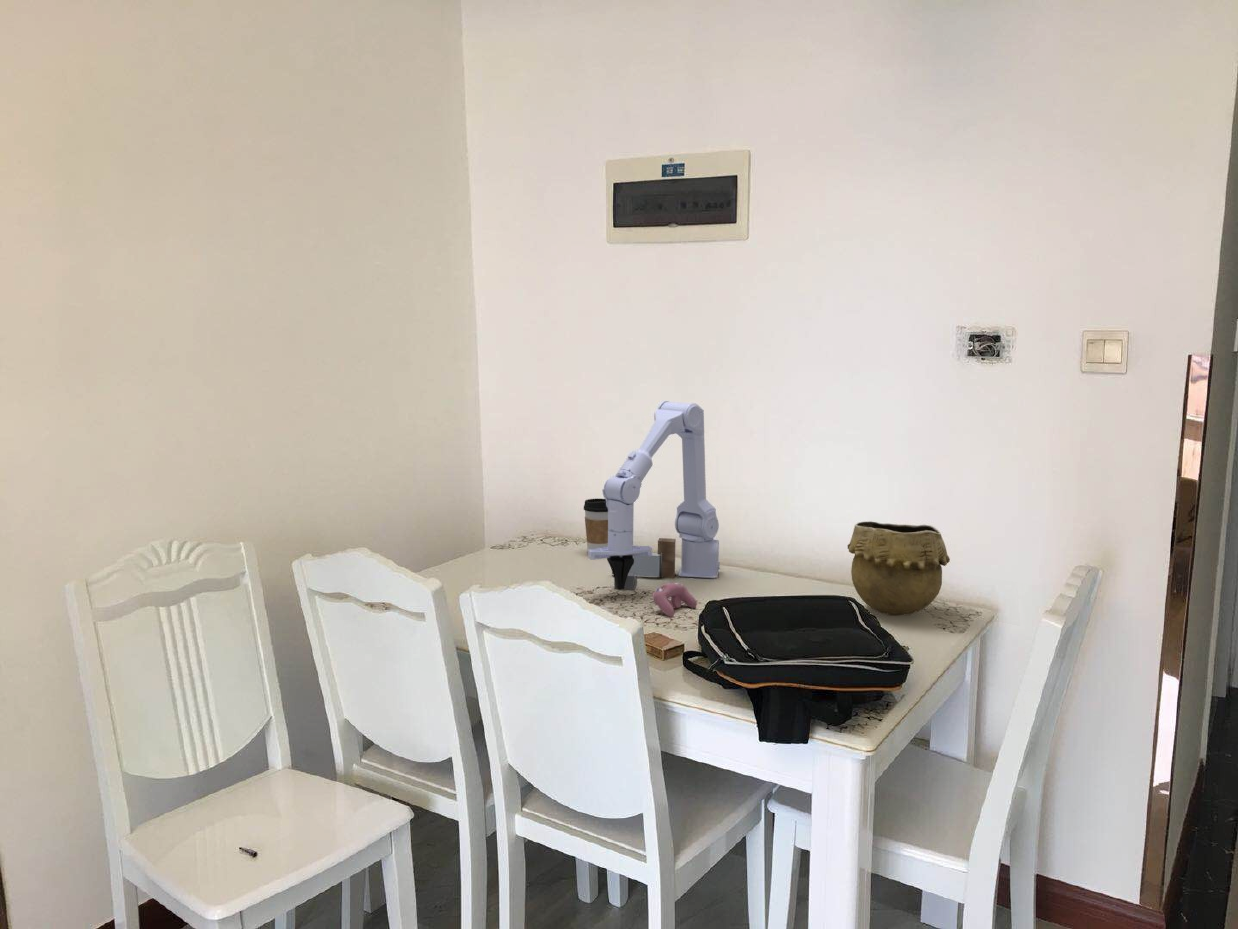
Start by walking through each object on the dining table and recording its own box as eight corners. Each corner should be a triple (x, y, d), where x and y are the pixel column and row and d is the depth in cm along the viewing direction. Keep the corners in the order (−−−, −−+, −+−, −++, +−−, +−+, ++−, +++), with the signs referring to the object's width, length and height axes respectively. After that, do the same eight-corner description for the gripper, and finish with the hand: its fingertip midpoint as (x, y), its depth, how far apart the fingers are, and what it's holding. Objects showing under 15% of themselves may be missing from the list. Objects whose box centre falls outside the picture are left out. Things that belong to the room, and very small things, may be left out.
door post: (674, 574, 238) (675, 538, 237) (672, 579, 234) (673, 543, 232) (658, 573, 239) (659, 538, 238) (656, 578, 234) (657, 542, 233)
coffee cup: (601, 560, 252) (602, 503, 250) (576, 555, 257) (576, 499, 255) (620, 554, 259) (621, 499, 256) (596, 549, 264) (596, 495, 261)
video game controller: (684, 611, 213) (673, 581, 214) (699, 606, 210) (688, 575, 211) (657, 622, 206) (646, 590, 207) (673, 616, 203) (661, 585, 204)
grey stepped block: (637, 583, 231) (637, 568, 231) (633, 591, 224) (633, 576, 224) (618, 582, 232) (618, 567, 231) (614, 590, 225) (614, 575, 224)
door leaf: (660, 574, 236) (660, 553, 235) (659, 576, 234) (659, 555, 233) (613, 572, 237) (613, 551, 237) (611, 574, 235) (612, 553, 235)
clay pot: (851, 595, 222) (855, 509, 219) (948, 605, 214) (954, 517, 211) (837, 620, 203) (841, 527, 200) (943, 633, 195) (949, 537, 192)
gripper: (645, 524, 223) (644, 581, 225) (584, 527, 219) (584, 585, 221) (655, 530, 216) (654, 589, 218) (593, 534, 212) (592, 594, 214)
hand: (620, 588), depth 219 cm, fingers closed
